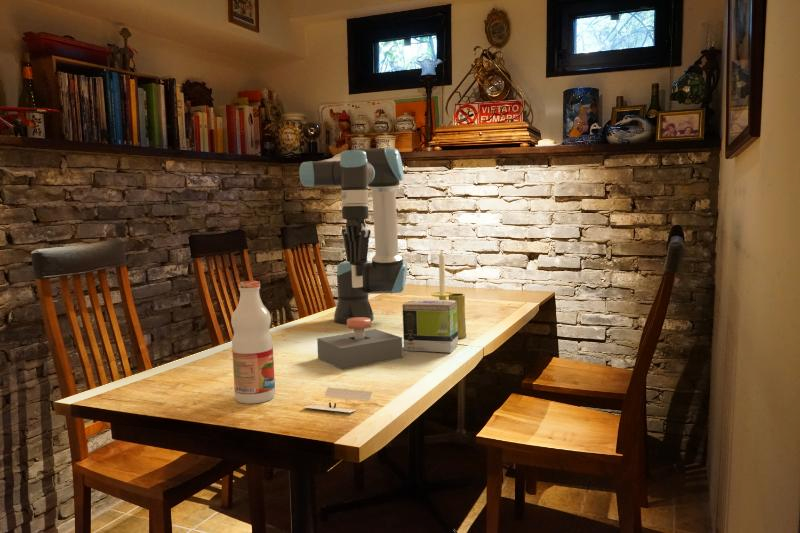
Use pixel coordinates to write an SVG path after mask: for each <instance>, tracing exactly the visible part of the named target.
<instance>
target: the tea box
mask: <svg viewBox="0 0 800 533" xmlns="http://www.w3.org/2000/svg"><path fill="white" fill-rule="evenodd" d="M402 330H403V337H402V339H403V350H404V351H409V352H410V351H411V352H412V351H413V352H432V353H445V354H446V353H449V354H450V353H453V351H454V350H455V349H456V348H457V347H458V345H459V339H458V323H457V300H449V299H446V300H439V299H410V300H408V301H407V302H404V303H402Z"/></svg>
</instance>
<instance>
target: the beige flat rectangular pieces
mask: <svg viewBox="0 0 800 533" xmlns="http://www.w3.org/2000/svg"><path fill="white" fill-rule="evenodd" d="M372 394H373V391H369V390H359V389H358V390H357V389H347V388H338V387H337V388H335V387H327V388H326V390H325V394H324V397H327V398H340V399H349V400H356V401H358V400H359V401H366V402H367V401H368V402H370V401H371V397H372ZM303 408H306V409H312V410H313V409H315V410H322V411H323V410H324V411H332V412H333V411H334V412H339V413H340V412H343V413H353V412H356V411H357V409H351V408H348V409H347V408H340V407H337V403H336V402H335V403H334V404H333V407H332V403H331V401H329V402H328V406H322V405H315V404H314V405H307V406H303Z"/></svg>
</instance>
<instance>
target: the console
mask: <svg viewBox="0 0 800 533" xmlns="http://www.w3.org/2000/svg"><path fill="white" fill-rule="evenodd" d="M364 337H365V339H364V340H358V341H355V340H354V332H350V333H349V332H348V333H343V334H337V335H331V336H324V337H319V338H316V342H317V359H318V360H321V361H323V362H326V364H329V365H331V366H333V367H336V368H338V369H340V370H342V371H343V370H348V369H352V368H357V367H362V366H369V365H371V364H372V365H373V364H377V363H381V362H387V361H392V360H396V359H397V360H398V359H402V358H403V337H401V336H398V335H395V334H391V333H389V332H386V331H384V330H379V329H376V328H373V329H368V330H364Z"/></svg>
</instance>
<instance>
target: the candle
mask: <svg viewBox="0 0 800 533" xmlns="http://www.w3.org/2000/svg"><path fill="white" fill-rule="evenodd" d="M445 258H446V255H445V254H444V252H443V249H441V251H440V254H439V255H438V260H439V261H438V266H439V267H438V268H439V269H438V274H439V277H438V278H439V279H438V280H439V292H433V293H431V296H432V297H435V298H436V297H439V298H438V300H447V298H449V294H453V292H448V291H447V292H446V260H445Z"/></svg>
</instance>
